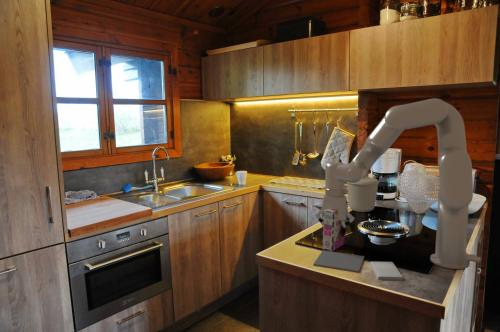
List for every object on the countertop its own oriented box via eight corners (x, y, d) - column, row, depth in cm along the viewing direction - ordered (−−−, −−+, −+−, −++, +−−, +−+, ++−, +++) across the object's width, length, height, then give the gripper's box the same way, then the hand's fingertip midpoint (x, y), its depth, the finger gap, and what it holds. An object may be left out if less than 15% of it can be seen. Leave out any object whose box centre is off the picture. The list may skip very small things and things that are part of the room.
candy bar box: (333, 252, 145) (333, 212, 143) (322, 249, 148) (322, 210, 146) (345, 244, 154) (346, 206, 151) (334, 241, 157) (335, 204, 154)
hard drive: (403, 277, 120) (392, 261, 132) (378, 276, 121) (369, 261, 133) (403, 282, 120) (392, 265, 133) (377, 281, 121) (369, 265, 133)
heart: (449, 220, 183) (451, 176, 179) (421, 222, 180) (423, 178, 177) (415, 206, 210) (417, 168, 207) (390, 207, 208) (391, 169, 204)
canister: (365, 204, 217) (366, 169, 214) (385, 212, 200) (386, 174, 197) (338, 207, 211) (339, 171, 208) (357, 215, 194) (358, 176, 191)
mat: (364, 257, 139) (364, 256, 139) (358, 272, 127) (358, 270, 127) (322, 251, 146) (322, 250, 146) (313, 265, 133) (313, 263, 133)
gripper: (358, 192, 147) (357, 234, 150) (316, 189, 154) (315, 229, 157) (355, 196, 140) (354, 240, 143) (311, 192, 148) (311, 235, 150)
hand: (334, 234), depth 150 cm, fingers open, 6 cm apart
